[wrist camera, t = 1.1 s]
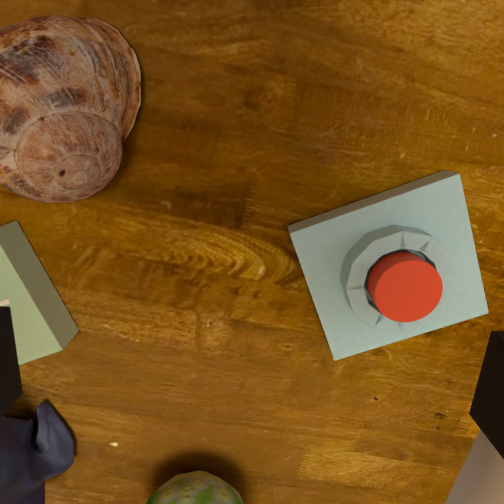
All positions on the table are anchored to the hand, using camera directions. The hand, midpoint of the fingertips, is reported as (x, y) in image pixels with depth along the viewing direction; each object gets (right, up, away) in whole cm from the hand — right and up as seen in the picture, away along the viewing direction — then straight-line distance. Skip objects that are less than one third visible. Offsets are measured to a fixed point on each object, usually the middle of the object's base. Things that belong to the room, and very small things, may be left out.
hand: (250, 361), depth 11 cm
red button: (+10, +1, +16) cm, 19 cm away
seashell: (-12, +13, +16) cm, 24 cm away
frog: (-21, -14, +25) cm, 35 cm away
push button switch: (+10, +2, +19) cm, 22 cm away
